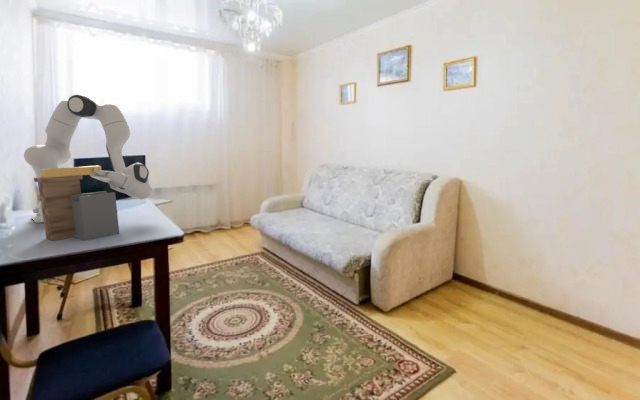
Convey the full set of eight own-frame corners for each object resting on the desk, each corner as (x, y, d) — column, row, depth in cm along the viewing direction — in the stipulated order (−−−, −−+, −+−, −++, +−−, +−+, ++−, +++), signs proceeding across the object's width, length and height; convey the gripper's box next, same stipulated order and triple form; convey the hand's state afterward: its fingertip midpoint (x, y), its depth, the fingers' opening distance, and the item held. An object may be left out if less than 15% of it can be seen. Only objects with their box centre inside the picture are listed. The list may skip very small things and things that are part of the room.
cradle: (76, 237, 150) (70, 195, 147) (110, 230, 162) (105, 190, 159) (85, 240, 146) (79, 197, 143) (119, 233, 158) (115, 192, 154)
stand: (42, 238, 149) (33, 177, 144) (81, 231, 161) (74, 174, 156) (49, 241, 145) (41, 179, 140) (89, 233, 157) (82, 175, 153)
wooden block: (45, 178, 143) (43, 169, 142) (41, 177, 145) (40, 169, 144) (101, 173, 161) (101, 165, 160) (98, 173, 163) (97, 165, 162)
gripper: (110, 174, 176) (82, 162, 165) (133, 176, 165) (105, 163, 154) (105, 185, 174) (76, 174, 163) (127, 189, 164) (98, 176, 152)
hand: (90, 169), depth 159 cm, fingers closed on wooden block, 3 cm apart
